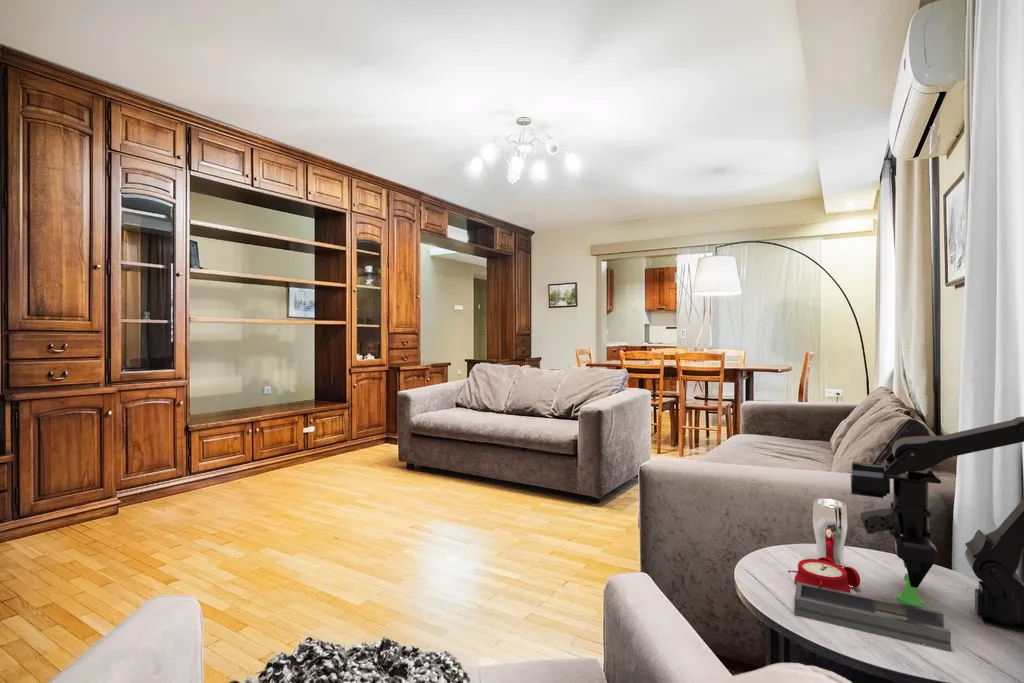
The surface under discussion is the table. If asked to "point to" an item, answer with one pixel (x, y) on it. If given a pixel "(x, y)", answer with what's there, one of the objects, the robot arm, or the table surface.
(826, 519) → the beer glass
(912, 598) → the game piece
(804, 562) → the alarm clock
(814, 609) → the track
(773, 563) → the table surface
